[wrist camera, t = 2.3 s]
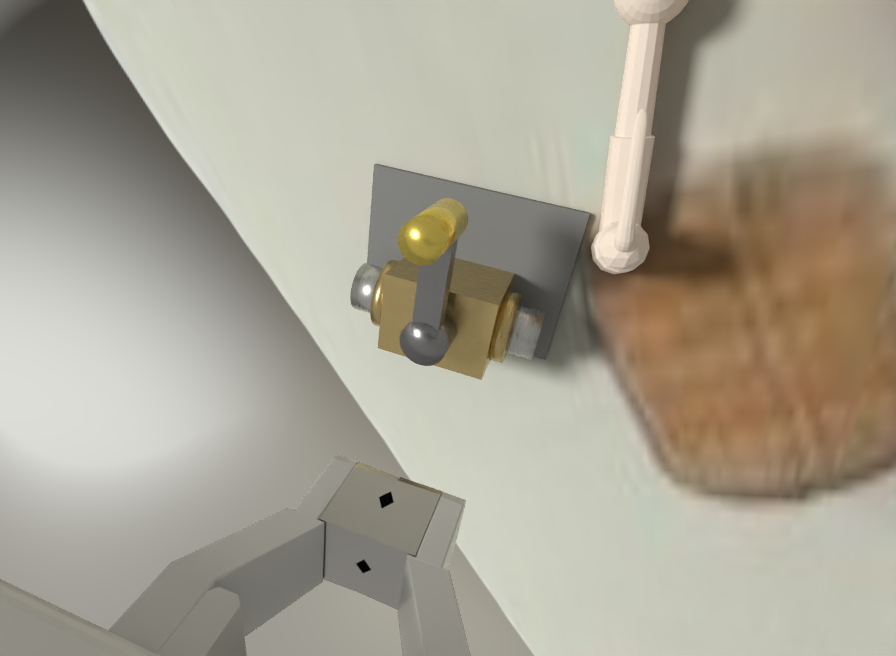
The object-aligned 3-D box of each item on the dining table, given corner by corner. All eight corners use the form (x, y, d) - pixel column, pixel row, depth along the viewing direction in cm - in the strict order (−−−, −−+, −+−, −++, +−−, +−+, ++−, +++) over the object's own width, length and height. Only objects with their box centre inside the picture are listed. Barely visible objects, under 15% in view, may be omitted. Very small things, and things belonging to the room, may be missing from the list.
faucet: (681, -7, 30) (723, -132, 20) (643, 275, 32) (665, 281, 23) (613, -2, 31) (623, -118, 21) (582, 271, 33) (579, 274, 24)
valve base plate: (590, 212, 32) (589, 214, 32) (545, 356, 38) (545, 359, 38) (376, 163, 35) (374, 164, 35) (366, 304, 41) (364, 306, 41)
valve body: (554, 283, 35) (544, 318, 30) (534, 350, 38) (522, 392, 33) (380, 238, 38) (344, 262, 32) (375, 304, 41) (341, 336, 35)
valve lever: (451, 355, 33) (425, 400, 28) (409, 342, 34) (376, 384, 29) (480, 202, 28) (453, 227, 23) (428, 190, 28) (392, 212, 24)
